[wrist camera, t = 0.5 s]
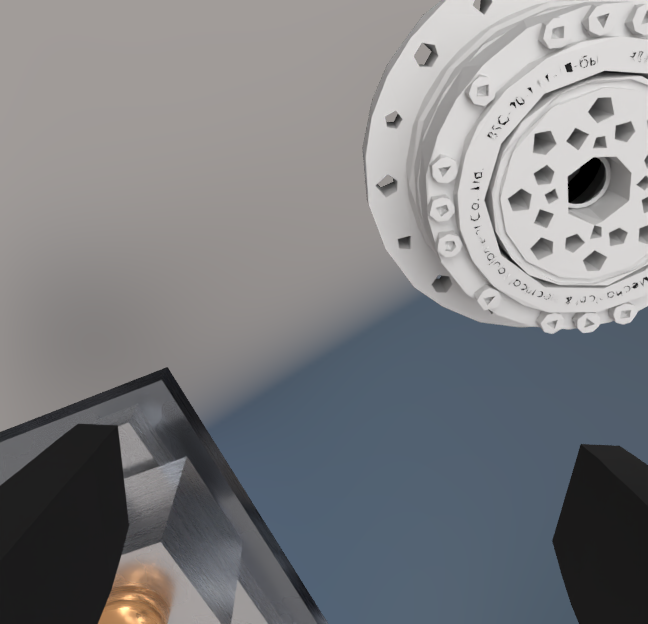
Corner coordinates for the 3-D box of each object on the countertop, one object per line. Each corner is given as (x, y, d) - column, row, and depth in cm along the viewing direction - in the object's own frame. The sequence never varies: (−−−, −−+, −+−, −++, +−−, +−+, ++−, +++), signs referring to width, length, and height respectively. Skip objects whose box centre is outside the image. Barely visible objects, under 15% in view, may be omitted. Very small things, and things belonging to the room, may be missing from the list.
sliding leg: (245, 523, 21) (225, 660, 17) (47, 588, 23) (-22, 733, 18) (192, 439, 20) (153, 566, 15) (-18, 515, 21) (-113, 653, 17)
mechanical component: (692, 285, 19) (737, -81, 15) (789, 353, 15) (889, -118, 11) (381, 326, 20) (340, -14, 16) (397, 402, 16) (347, -26, 12)
